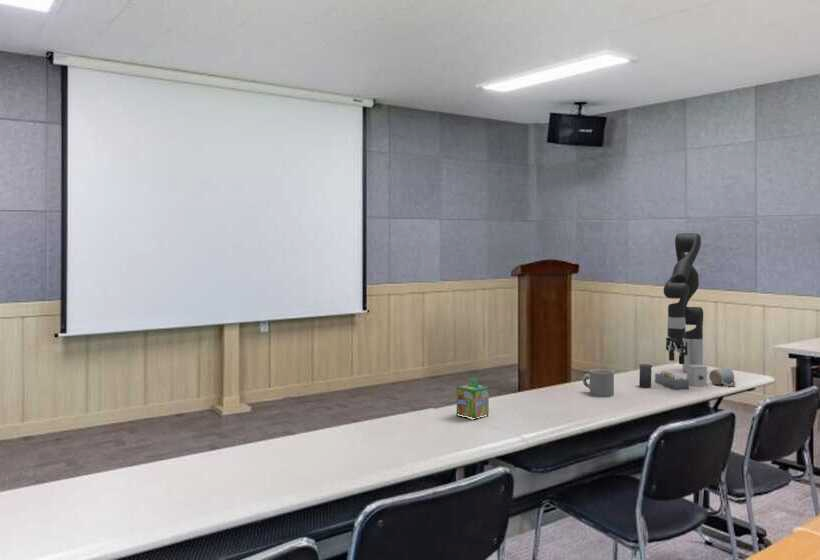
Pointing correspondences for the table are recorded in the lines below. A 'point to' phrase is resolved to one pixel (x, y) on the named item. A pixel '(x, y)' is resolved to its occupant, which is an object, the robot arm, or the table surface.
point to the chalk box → (473, 399)
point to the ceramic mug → (722, 376)
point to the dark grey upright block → (645, 375)
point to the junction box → (697, 375)
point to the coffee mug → (600, 383)
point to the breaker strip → (671, 380)
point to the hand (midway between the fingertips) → (676, 362)
